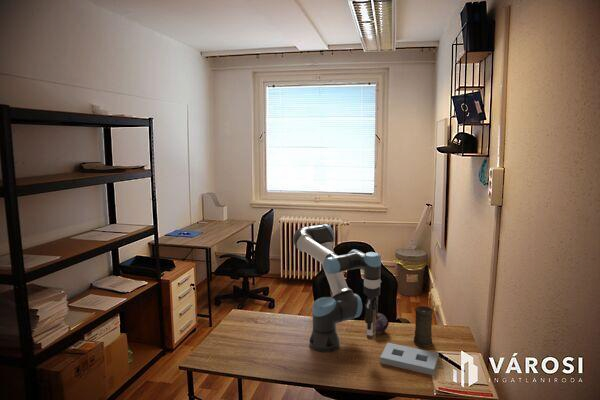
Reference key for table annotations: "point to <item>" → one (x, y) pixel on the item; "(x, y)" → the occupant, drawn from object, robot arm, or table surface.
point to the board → (409, 358)
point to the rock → (381, 324)
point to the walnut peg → (373, 326)
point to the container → (423, 326)
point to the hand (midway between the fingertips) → (371, 332)
